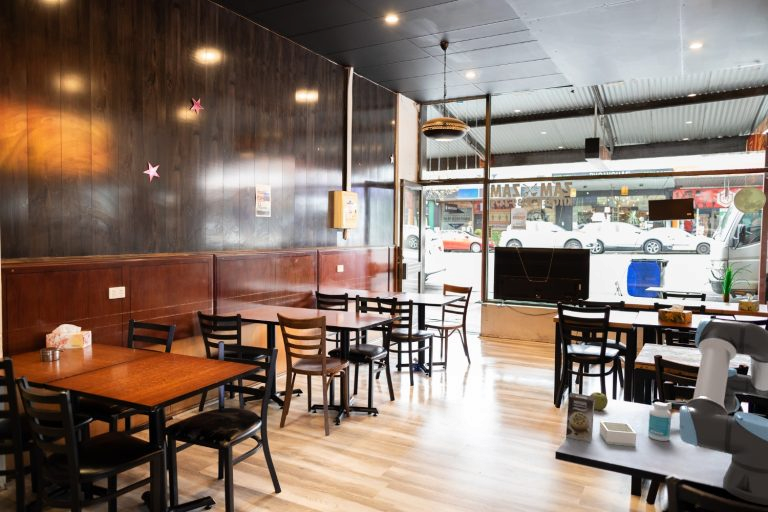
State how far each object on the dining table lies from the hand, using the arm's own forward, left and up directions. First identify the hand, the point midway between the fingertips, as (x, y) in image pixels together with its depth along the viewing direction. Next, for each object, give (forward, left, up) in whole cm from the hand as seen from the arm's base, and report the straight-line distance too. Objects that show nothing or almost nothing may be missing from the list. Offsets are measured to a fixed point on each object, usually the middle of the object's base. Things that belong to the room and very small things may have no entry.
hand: (676, 413), depth 204 cm
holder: (-12, +25, -8) cm, 29 cm away
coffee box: (-13, +39, -9) cm, 42 cm away
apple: (+24, +23, -9) cm, 34 cm away
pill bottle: (-6, +8, -9) cm, 13 cm away
